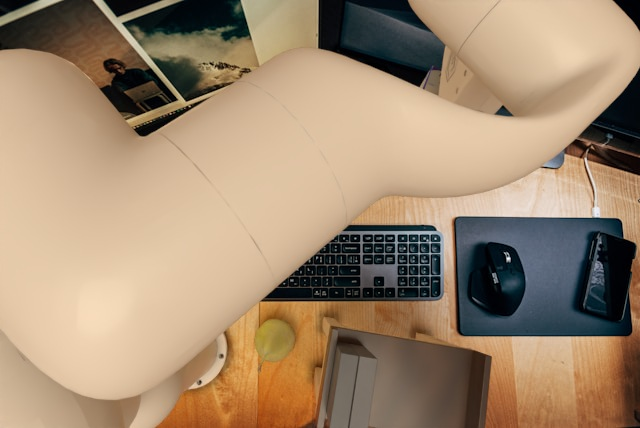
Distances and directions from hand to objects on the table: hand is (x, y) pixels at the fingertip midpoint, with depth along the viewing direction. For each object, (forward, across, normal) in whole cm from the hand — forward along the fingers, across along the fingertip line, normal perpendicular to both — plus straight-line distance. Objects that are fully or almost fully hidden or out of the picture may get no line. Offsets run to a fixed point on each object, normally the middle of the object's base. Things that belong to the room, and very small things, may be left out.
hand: (444, 110), depth 54 cm
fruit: (+30, +33, -16) cm, 48 cm away
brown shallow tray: (+7, +34, 0) cm, 34 cm away
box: (+4, 0, 0) cm, 4 cm away
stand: (+29, +33, +1) cm, 44 cm away
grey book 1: (+7, +34, -7) cm, 35 cm away
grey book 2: (+7, +34, -5) cm, 35 cm away
